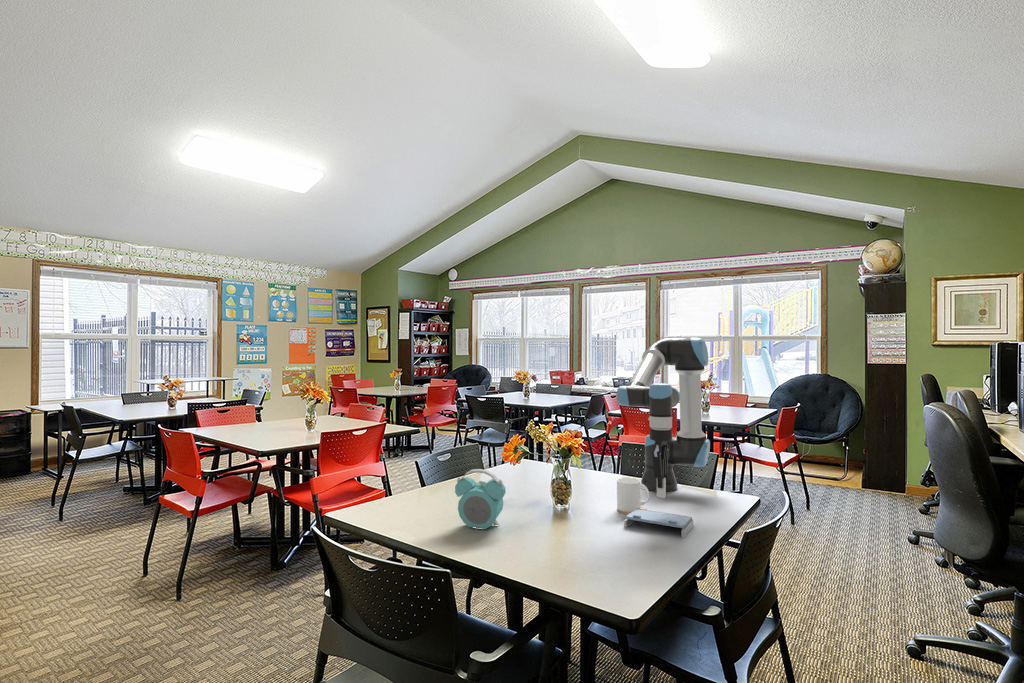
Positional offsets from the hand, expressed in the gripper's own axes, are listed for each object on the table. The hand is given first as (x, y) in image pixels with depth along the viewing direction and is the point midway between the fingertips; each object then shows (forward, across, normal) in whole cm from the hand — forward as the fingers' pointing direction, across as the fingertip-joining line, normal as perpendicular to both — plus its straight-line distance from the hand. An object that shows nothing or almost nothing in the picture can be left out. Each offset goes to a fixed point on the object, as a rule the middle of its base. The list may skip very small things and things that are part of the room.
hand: (661, 496), depth 188 cm
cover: (+7, +3, 0) cm, 8 cm away
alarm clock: (+10, +34, -52) cm, 63 cm away
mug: (+9, -10, -14) cm, 19 cm away
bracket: (+9, +3, 0) cm, 10 cm away
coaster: (+9, -10, -14) cm, 20 cm away
